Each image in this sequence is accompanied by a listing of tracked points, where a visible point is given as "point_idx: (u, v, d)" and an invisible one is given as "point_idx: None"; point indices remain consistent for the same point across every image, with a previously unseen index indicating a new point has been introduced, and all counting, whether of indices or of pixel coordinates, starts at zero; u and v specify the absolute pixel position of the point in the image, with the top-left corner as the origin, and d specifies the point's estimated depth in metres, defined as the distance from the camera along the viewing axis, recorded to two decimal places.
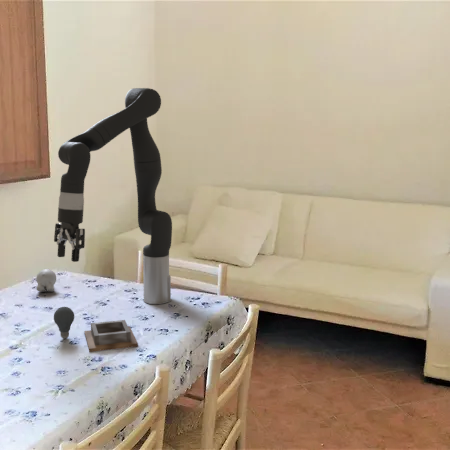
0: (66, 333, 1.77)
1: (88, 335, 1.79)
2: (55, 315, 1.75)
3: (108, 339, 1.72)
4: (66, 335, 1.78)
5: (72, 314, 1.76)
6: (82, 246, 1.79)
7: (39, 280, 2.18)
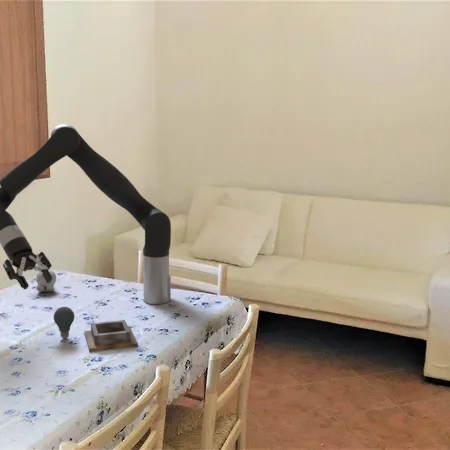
0: (66, 333, 1.77)
1: (88, 335, 1.79)
2: (55, 315, 1.75)
3: (108, 339, 1.72)
4: (66, 335, 1.78)
5: (72, 314, 1.76)
6: (11, 275, 1.78)
7: (39, 280, 2.18)
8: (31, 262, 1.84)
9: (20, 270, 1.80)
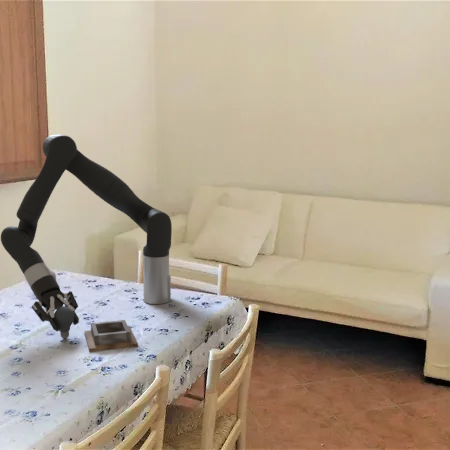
0: (66, 333, 1.77)
1: (88, 335, 1.79)
2: (55, 315, 1.75)
3: (108, 339, 1.72)
4: (66, 335, 1.78)
5: (72, 314, 1.76)
6: (44, 317, 1.73)
7: None
8: (58, 301, 1.79)
9: (51, 311, 1.75)
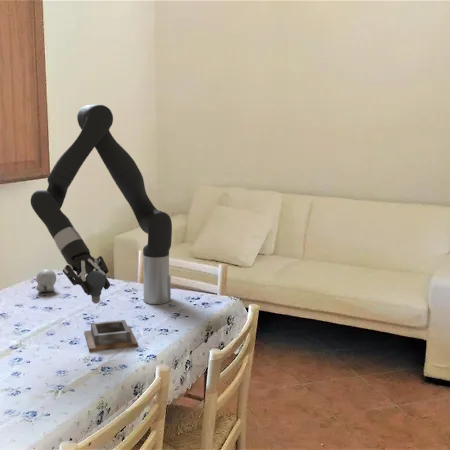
0: (97, 297, 1.75)
1: (88, 335, 1.79)
2: (86, 279, 1.73)
3: (108, 339, 1.72)
4: (97, 299, 1.75)
5: (103, 278, 1.74)
6: (75, 281, 1.71)
7: (39, 280, 2.18)
8: (89, 266, 1.77)
9: (82, 275, 1.73)
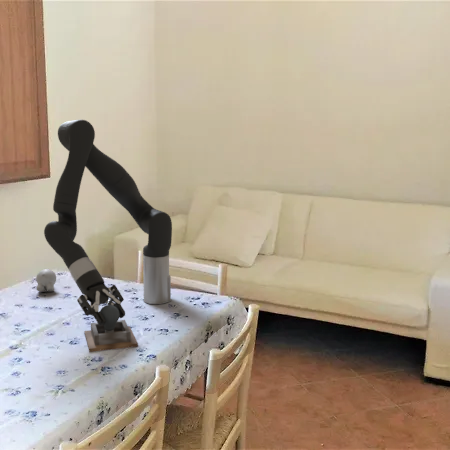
0: (111, 331, 1.77)
1: (88, 335, 1.79)
2: (101, 313, 1.74)
3: (108, 339, 1.72)
4: None
5: (118, 312, 1.76)
6: (88, 311, 1.72)
7: (38, 280, 2.18)
8: (104, 296, 1.78)
9: (96, 305, 1.74)
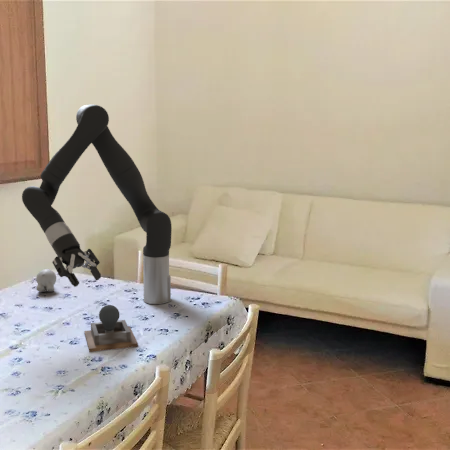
0: (111, 331, 1.77)
1: (88, 335, 1.79)
2: (101, 313, 1.74)
3: (108, 339, 1.72)
4: None
5: (117, 312, 1.76)
6: (62, 272, 1.76)
7: (39, 280, 2.18)
8: (80, 259, 1.82)
9: (70, 267, 1.78)
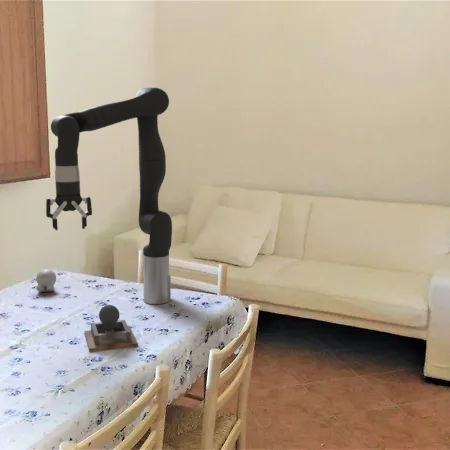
0: (111, 331, 1.77)
1: (88, 335, 1.79)
2: (101, 313, 1.74)
3: (108, 339, 1.72)
4: None
5: (117, 312, 1.76)
6: None
7: (38, 280, 2.19)
8: (72, 206, 1.89)
9: (56, 213, 1.88)
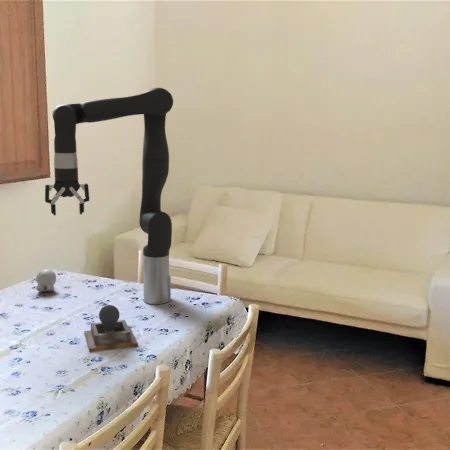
0: (111, 331, 1.77)
1: (88, 335, 1.79)
2: (101, 313, 1.74)
3: (108, 339, 1.72)
4: None
5: (117, 312, 1.76)
6: (45, 200, 1.94)
7: (38, 280, 2.18)
8: (70, 192, 1.96)
9: (55, 198, 1.95)
